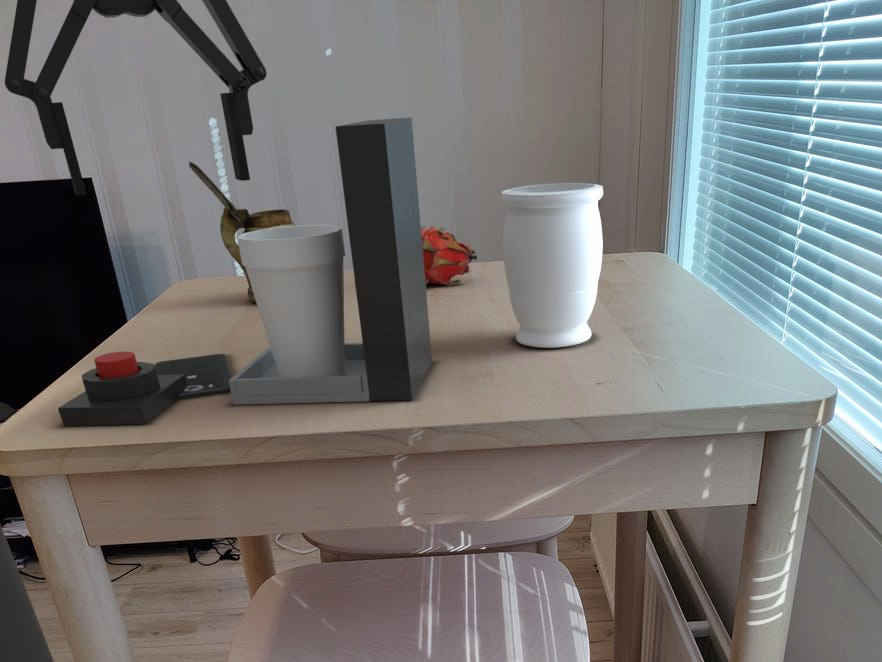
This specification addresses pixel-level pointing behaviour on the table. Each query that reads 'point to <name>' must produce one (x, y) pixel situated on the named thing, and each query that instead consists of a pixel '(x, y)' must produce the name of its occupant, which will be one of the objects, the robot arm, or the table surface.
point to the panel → (122, 398)
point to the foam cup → (299, 295)
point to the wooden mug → (242, 221)
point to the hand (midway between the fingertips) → (164, 187)
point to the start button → (116, 364)
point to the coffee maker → (369, 280)
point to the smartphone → (199, 374)
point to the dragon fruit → (444, 256)
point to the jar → (553, 260)
